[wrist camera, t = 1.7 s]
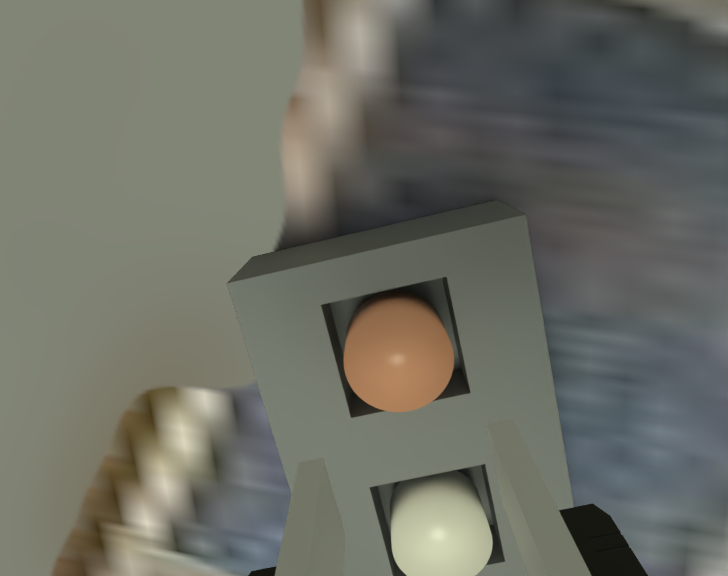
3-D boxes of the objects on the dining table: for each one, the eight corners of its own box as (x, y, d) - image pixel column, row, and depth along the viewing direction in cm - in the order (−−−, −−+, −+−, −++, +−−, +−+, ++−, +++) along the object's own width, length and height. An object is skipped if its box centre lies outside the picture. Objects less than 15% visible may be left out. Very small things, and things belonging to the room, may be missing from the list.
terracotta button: (434, 281, 28) (442, 298, 25) (454, 373, 29) (463, 399, 26) (335, 303, 28) (331, 322, 25) (358, 393, 30) (357, 421, 27)
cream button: (471, 458, 31) (482, 492, 28) (488, 536, 32) (500, 576, 29) (380, 476, 31) (381, 512, 28) (400, 553, 32) (403, 595, 29)
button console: (497, 199, 31) (526, 214, 26) (573, 632, 39) (608, 719, 33) (252, 256, 32) (226, 283, 27) (372, 667, 40) (372, 758, 34)
